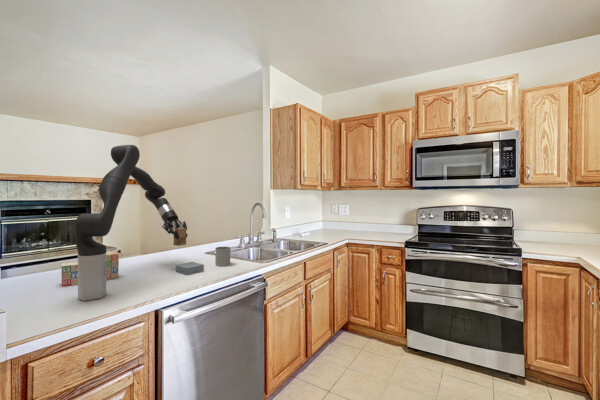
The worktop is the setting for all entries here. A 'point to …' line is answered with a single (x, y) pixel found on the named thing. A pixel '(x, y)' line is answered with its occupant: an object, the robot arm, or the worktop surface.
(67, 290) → the worktop surface
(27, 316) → the worktop surface
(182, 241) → the walnut block
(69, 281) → the stack of blocks
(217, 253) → the cup
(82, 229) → the robot arm
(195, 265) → the slate block
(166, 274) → the worktop surface
